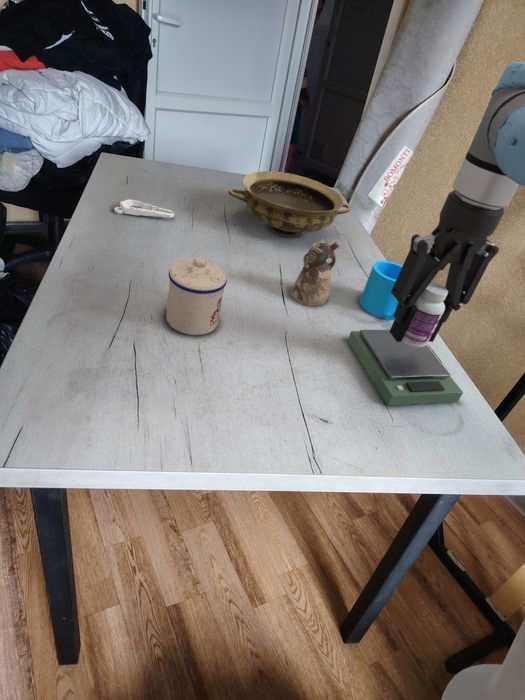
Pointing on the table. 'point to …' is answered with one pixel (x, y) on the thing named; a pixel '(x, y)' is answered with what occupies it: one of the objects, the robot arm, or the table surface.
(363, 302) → the mug
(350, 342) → the scale
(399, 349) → the scale pan
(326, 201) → the ceramic bowl
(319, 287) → the figurine
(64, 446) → the table surface
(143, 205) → the white flat elongated piece
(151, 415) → the table surface
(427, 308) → the pill bottle
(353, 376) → the table surface
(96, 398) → the table surface
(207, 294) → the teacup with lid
